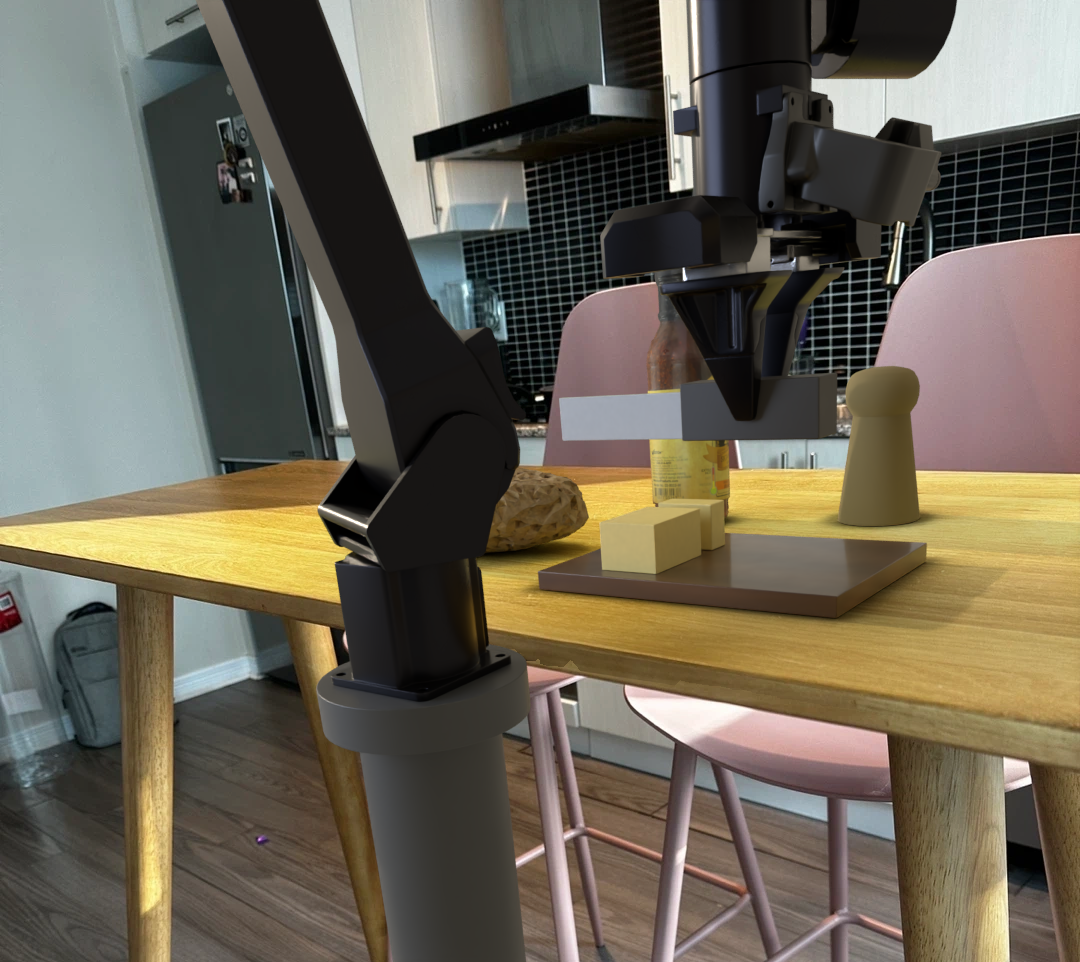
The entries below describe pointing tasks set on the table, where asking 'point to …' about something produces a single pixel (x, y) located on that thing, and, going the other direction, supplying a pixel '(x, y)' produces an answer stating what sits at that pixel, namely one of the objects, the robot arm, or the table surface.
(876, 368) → the cork
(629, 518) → the butter block
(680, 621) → the table surface
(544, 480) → the sponge
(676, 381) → the sauce bottle
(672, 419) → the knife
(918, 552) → the cutting board
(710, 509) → the block
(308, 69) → the robot arm
